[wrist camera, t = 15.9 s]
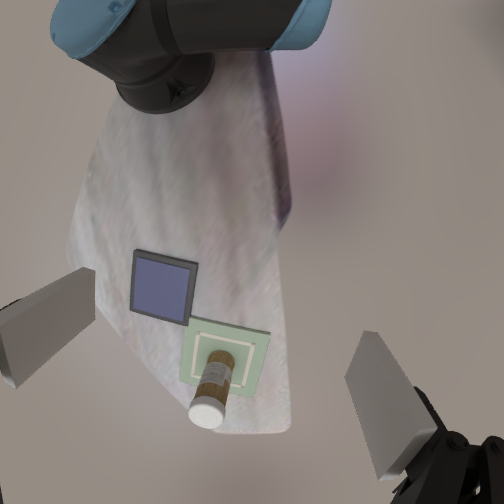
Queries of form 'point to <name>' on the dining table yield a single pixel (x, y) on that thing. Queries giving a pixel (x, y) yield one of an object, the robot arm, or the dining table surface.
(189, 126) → the dining table surface
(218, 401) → the sprinkles bottle
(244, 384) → the board
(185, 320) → the ink pad
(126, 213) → the dining table surface
